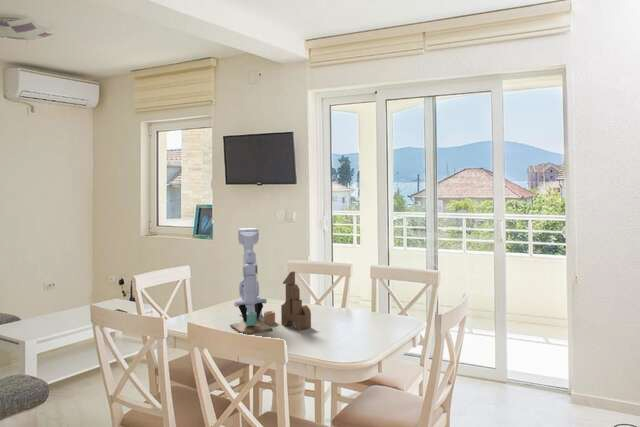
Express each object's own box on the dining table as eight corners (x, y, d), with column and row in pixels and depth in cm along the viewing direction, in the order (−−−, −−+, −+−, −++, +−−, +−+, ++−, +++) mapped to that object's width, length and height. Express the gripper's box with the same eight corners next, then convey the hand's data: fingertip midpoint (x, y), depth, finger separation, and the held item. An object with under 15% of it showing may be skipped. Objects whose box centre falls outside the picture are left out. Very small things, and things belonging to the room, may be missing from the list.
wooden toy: (312, 327, 221) (311, 272, 221) (300, 330, 217) (299, 273, 216) (290, 321, 233) (289, 268, 232) (279, 324, 228) (278, 270, 228)
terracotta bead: (270, 320, 234) (269, 310, 234) (277, 322, 231) (277, 312, 231) (262, 323, 231) (261, 312, 230) (269, 324, 227) (269, 313, 227)
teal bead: (254, 322, 224) (254, 311, 224) (258, 324, 220) (258, 313, 220) (243, 323, 222) (243, 312, 222) (247, 326, 218) (247, 314, 218)
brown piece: (259, 322, 232) (259, 308, 231) (272, 330, 217) (272, 315, 217) (230, 326, 225) (230, 312, 225) (242, 334, 211) (241, 319, 211)
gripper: (237, 293, 214) (238, 324, 214) (269, 290, 221) (269, 320, 221) (232, 291, 220) (233, 321, 220) (263, 288, 227) (263, 317, 227)
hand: (250, 320), depth 221 cm, fingers closed on teal bead, 5 cm apart
